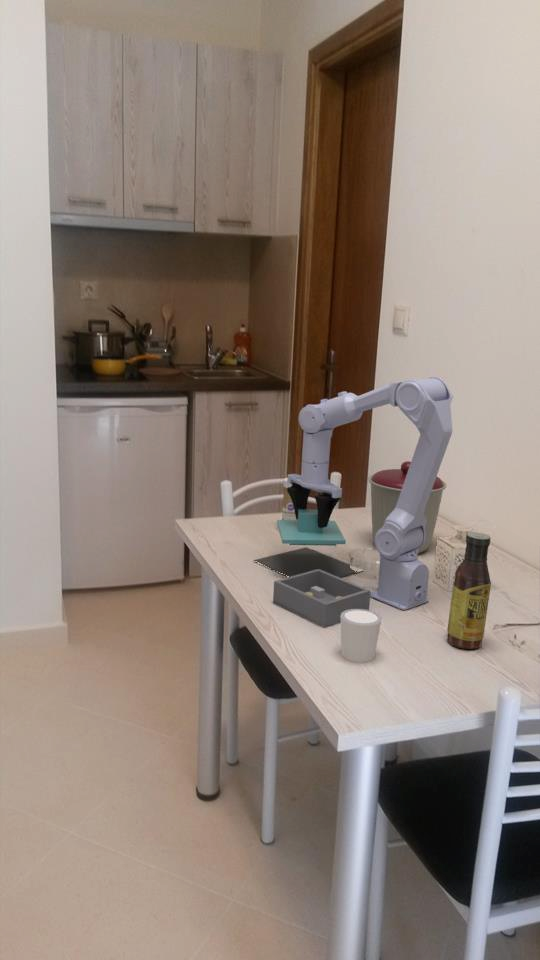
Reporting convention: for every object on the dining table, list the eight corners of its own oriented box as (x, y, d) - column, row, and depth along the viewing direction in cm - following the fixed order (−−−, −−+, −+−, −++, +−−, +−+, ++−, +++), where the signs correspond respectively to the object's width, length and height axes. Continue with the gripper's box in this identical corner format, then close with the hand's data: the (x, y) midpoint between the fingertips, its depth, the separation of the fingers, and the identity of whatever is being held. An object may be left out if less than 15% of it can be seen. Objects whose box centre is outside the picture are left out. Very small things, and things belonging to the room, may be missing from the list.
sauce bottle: (466, 654, 137) (479, 543, 133) (438, 640, 142) (450, 533, 138) (490, 645, 141) (504, 537, 137) (463, 632, 146) (475, 528, 141)
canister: (392, 531, 205) (399, 450, 200) (454, 549, 192) (463, 464, 187) (347, 545, 192) (354, 459, 187) (410, 566, 180) (419, 474, 175)
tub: (368, 612, 153) (370, 590, 152) (324, 627, 145) (325, 604, 144) (317, 589, 163) (318, 568, 162) (272, 603, 155) (274, 581, 154)
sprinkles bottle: (282, 534, 198) (285, 481, 195) (279, 528, 202) (282, 476, 199) (300, 534, 199) (303, 481, 195) (297, 528, 203) (300, 477, 200)
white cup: (329, 653, 135) (331, 614, 134) (355, 642, 140) (358, 604, 138) (360, 668, 131) (364, 628, 129) (386, 656, 135) (390, 617, 134)
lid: (345, 548, 166) (346, 521, 165) (282, 547, 165) (283, 521, 164) (334, 527, 180) (335, 503, 179) (276, 526, 179) (277, 502, 178)
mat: (363, 571, 175) (363, 569, 175) (310, 586, 164) (310, 585, 164) (305, 548, 188) (306, 547, 188) (253, 561, 177) (253, 560, 177)
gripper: (353, 465, 166) (349, 528, 170) (305, 452, 177) (301, 511, 180) (330, 469, 162) (325, 534, 165) (281, 455, 172) (278, 516, 175)
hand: (311, 522), depth 172 cm, fingers closed on lid, 6 cm apart
